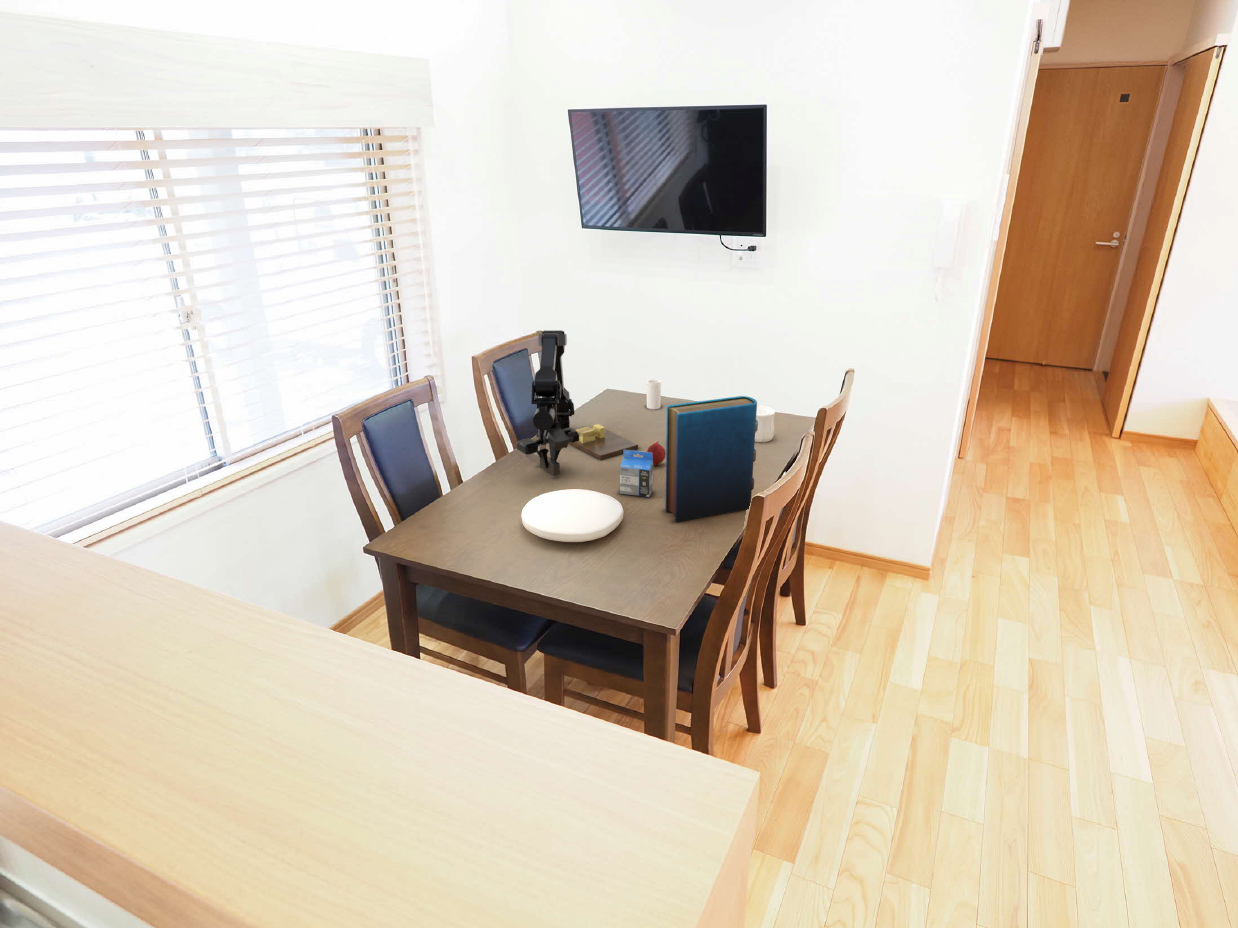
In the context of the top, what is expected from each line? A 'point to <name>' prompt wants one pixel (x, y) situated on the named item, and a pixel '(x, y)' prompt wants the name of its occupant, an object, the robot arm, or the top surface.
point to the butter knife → (552, 464)
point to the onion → (657, 453)
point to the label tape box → (636, 473)
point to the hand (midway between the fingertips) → (549, 467)
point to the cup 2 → (764, 424)
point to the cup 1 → (653, 394)
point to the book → (710, 457)
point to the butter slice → (599, 431)
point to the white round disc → (572, 515)
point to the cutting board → (602, 443)
